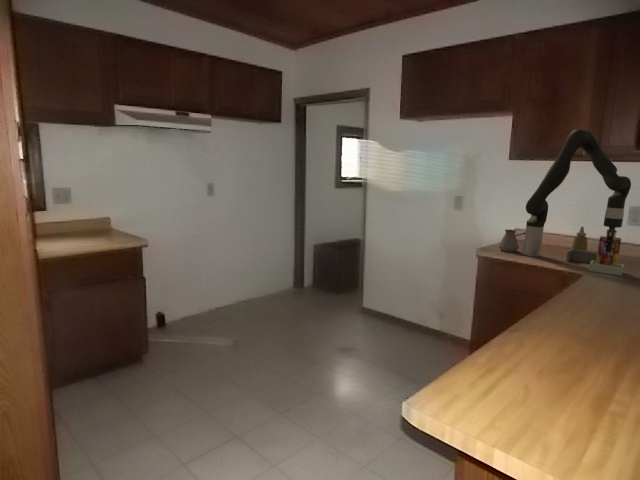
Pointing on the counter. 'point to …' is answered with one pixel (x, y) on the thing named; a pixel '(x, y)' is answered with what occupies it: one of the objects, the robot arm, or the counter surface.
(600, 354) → the counter surface
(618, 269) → the tray
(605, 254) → the candy box
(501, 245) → the coffee pot
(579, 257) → the bay
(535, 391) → the counter surface
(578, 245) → the squeeze bottle
